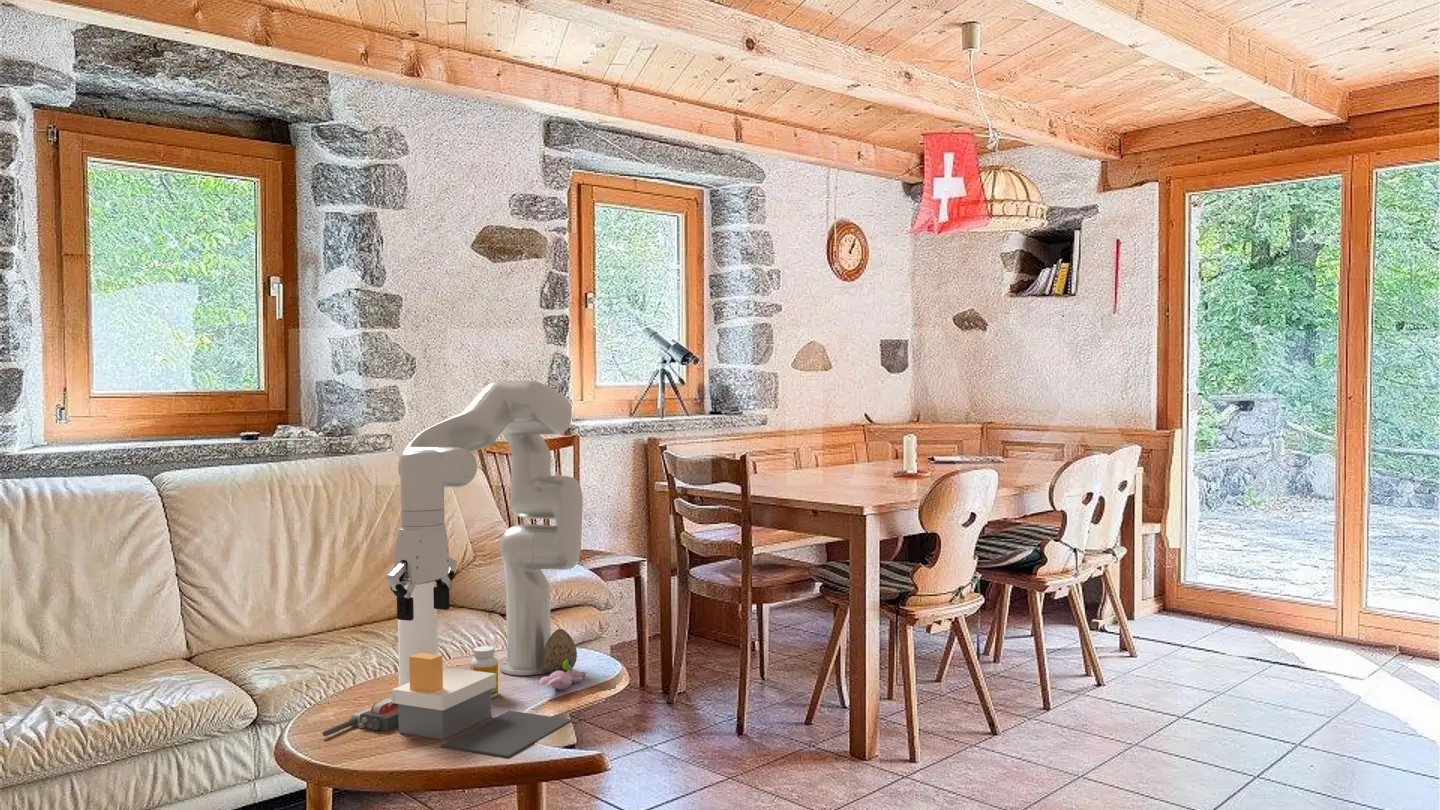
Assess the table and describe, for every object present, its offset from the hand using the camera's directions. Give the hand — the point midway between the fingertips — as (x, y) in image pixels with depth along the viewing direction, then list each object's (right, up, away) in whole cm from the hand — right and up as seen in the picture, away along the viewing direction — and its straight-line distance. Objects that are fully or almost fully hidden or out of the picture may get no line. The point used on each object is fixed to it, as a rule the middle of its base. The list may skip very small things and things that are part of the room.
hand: (423, 614), depth 188 cm
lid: (+2, -16, +6) cm, 17 cm away
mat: (+15, -22, 0) cm, 26 cm away
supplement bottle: (+6, -21, +23) cm, 32 cm away
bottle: (-9, -21, +27) cm, 36 cm away
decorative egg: (+19, -21, +37) cm, 46 cm away
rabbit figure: (+21, -21, +27) cm, 40 cm away
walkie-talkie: (-10, -22, +6) cm, 25 cm away
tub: (+2, -22, +6) cm, 22 cm away
